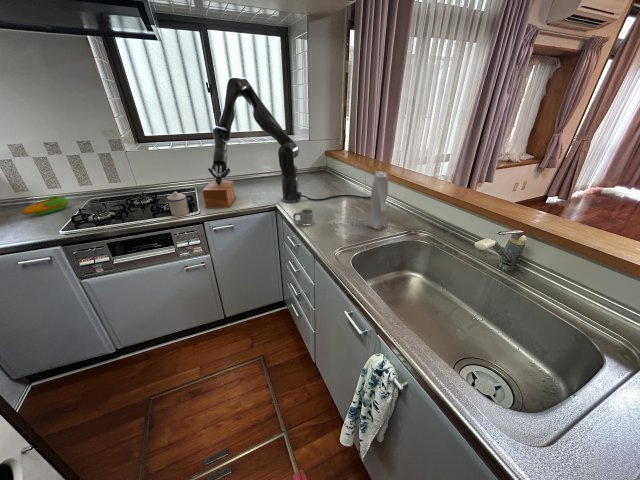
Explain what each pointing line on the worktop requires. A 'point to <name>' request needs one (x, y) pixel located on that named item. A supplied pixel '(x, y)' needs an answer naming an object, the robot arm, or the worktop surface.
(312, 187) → the worktop surface
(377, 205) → the skyscraper
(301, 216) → the mug
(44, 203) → the corn
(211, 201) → the wooden box
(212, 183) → the flap
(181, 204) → the teacup with lid
